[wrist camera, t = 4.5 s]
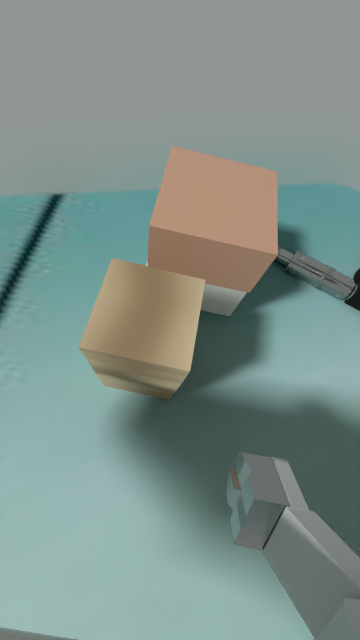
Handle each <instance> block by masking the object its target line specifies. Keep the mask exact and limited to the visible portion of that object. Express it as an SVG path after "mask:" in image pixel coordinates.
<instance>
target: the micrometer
mask: <svg viewBox="0 0 360 640" xmlns="http://www.w3.org/2000/svg"><path fill="white" fill-rule="evenodd" d="M274 260H276V261H278V262H280V263H282V264H284V265H285V268H284V270H283V271H285V272H287V273H289V274H291V275H294V276H296V277H298V278H299V279H301V280H303V281H305V282H307V283H309V284H311V285H312V286H313V287H315V288H317V289H319V290H321V291H324V292H325V293H327V294H329V295H331V296H333V297H335V298H337V299H343V300H345V302H344V303H346V304H348V305H350V306H352V307H353V308H355V309H357V310H359V311H360V269H359V270H357V272H356V273H355V275H354V280H353V279H351V278H349V277H348V276H346V275H344V274H342V273H340V272H338V271H336V269H334V268H332V267H330V266H328V265H325V264H323V263H321V262H319V261H317V260H315V259H313V258H311V257H309V256H307V255H306V254H305V253H303V252H301V251H299V250H297V249H296V250H295V251H294V252H293V254H292V253H291V252H289V251H287V250H285V249H283V248H281V246H279V245H278V255H277V257H276V258H275V259H274Z"/></svg>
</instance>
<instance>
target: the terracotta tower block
mask: <svg viewBox="0 0 360 640" xmlns="http://www.w3.org/2000/svg"><path fill="white" fill-rule="evenodd" d="M277 255H278V190H277V172H276V171H272V170H268V169H264V168H260V167H256V166H252V165H248V164H244V163H240V162H236V161H232V160H228V159H224V158H220V157H215V156H211V155H208V154H203V153H199V152H195V151H191V150H187V149H183V148H179V147H175V146H172V150H171V153H170V156H169V160H168V163H167V166H166V170H165V173H164V177H163V180H162V184H161V187H160V190H159V194H158V197H157V201H156V204H155V207H154V211H153V214H152V218H151V221H150V225H149V242H148V267H153V268H157V269H161V270H165V271H170V272H174V273H178V274H183V275H187V276H191V277H195V278H200V279H204V280H205V283H206V284H210V285H215V286H220V287H224V288H229V289H233V290H238V291H242V292H247V293H250V292H251V290H252V289H253V288H254V286H255V285H256V284H257V282H258V281H259V280H260V278H261V277H262V276H263V274H264V273H265V271H266V270H267V269H268V267H269V266H270V265H271V263H272V262H273V261H274V259H275V258H276V257H277Z"/></svg>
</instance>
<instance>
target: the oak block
mask: <svg viewBox="0 0 360 640" xmlns="http://www.w3.org/2000/svg"><path fill="white" fill-rule="evenodd" d="M204 286H205V280H204V279H200V278H195V277H191V276H187V275H183V274H178V273H174V272H170V271H165V270H161V269H157V268H153V267H148V266H144V265H140V264H136V263H131V262H127V261H123V260H118V259H114V258H112V260H111V262H110V265H109V268H108V270H107V273H106V276H105V278H104V281H103V284H102V286H101V289H100V292H99V294H98V297H97V300H96V302H95V305H94V308H93V310H92V313H91V316H90V318H89V321H88V324H87V326H86V329H85V332H84V334H83V337H82V340H81V342H80V345H79V349H80V350H81V352H82V353H83V355H84V356H85V358H86V359H87V361H88V362H89V364H90V365H91V367H92V368H93V370H94V371H95V373H96V374H97V376H98V377H99V379H100V380H101V382H102V383H103V385H104V386H108V387H112V388H117V389H122V390H126V391H131V392H136V393H141V394H145V395H150V396H155V397H160V398H164V399H169V400H170V399H171V398H172V396H173V395H174V393H175V392H176V391H177V389H178V388H179V386H180V385H181V384H182V382H183V381H184V379H185V378H186V377H187V375H188V374H189V372H190V370H191V364H192V358H193V352H194V346H195V340H196V334H197V328H198V322H199V316H200V310H201V304H202V298H203V292H204Z"/></svg>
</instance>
